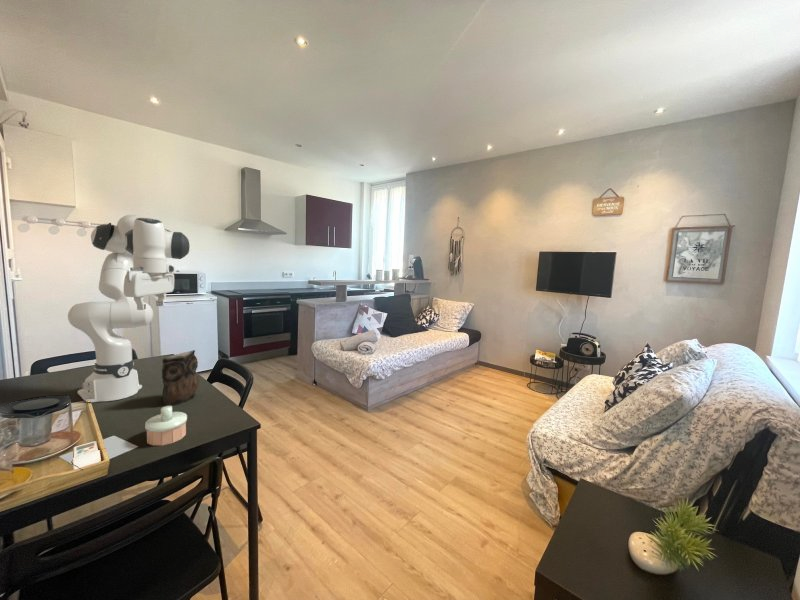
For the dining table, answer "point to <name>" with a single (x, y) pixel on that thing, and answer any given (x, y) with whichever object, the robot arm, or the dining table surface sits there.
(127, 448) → the mat
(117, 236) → the robot arm
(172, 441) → the bowl
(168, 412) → the lid
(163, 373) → the owl
